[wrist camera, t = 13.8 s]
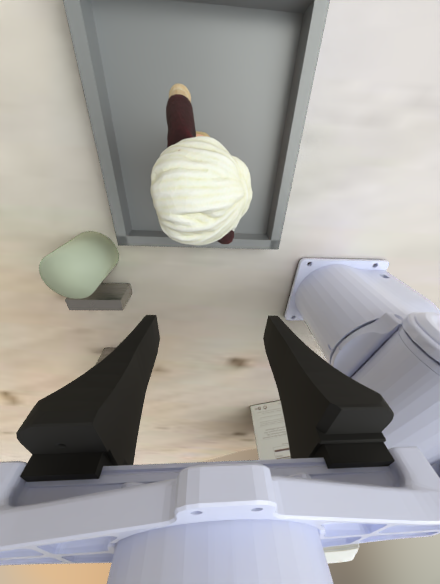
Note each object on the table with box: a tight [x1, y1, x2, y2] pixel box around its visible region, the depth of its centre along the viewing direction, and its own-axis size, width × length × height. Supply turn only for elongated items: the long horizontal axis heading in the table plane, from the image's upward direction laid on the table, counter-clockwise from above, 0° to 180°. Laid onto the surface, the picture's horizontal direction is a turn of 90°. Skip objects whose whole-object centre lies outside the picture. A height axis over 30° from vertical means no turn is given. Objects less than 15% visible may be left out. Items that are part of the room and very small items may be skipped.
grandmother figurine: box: [150, 83, 253, 246], centre depth 11 cm, size 8×4×13 cm, turn 30°
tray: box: [63, 0, 330, 249], centre depth 15 cm, size 14×15×2 cm
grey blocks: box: [65, 283, 132, 365], centre depth 24 cm, size 5×11×3 cm, turn 177°
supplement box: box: [250, 401, 359, 563], centre depth 32 cm, size 10×9×17 cm
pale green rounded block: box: [39, 231, 119, 299], centre depth 18 cm, size 4×4×5 cm
